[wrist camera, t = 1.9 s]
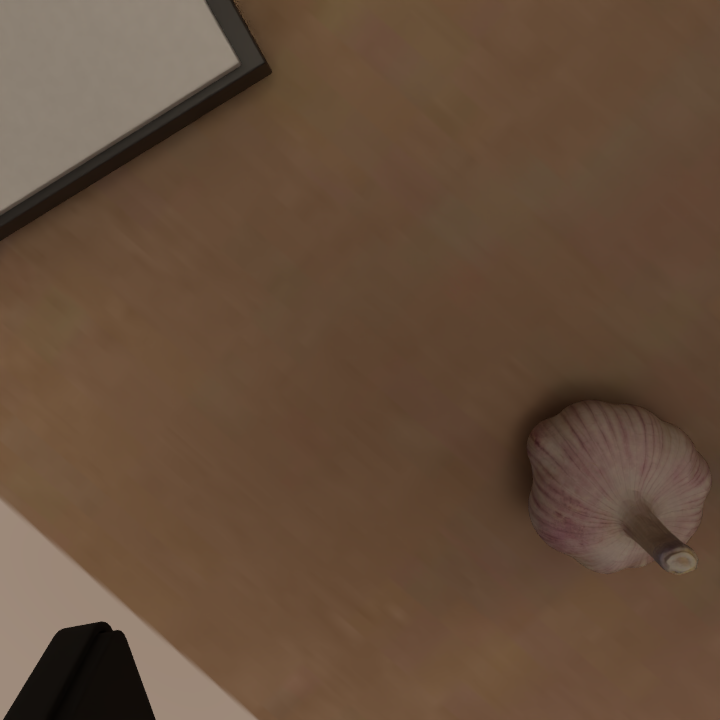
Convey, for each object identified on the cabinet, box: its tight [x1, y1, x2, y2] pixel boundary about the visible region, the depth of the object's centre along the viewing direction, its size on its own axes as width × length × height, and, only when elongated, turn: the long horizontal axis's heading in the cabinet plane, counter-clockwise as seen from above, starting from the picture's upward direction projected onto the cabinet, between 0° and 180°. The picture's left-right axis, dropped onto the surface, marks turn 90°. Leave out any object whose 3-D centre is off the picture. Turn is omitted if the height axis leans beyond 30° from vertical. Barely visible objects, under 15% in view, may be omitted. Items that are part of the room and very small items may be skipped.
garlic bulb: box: [527, 400, 712, 575], centre depth 24 cm, size 8×7×8 cm
